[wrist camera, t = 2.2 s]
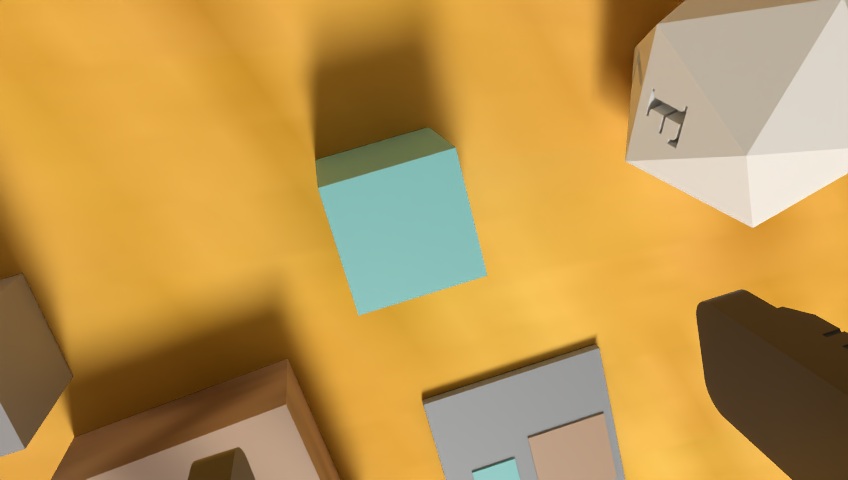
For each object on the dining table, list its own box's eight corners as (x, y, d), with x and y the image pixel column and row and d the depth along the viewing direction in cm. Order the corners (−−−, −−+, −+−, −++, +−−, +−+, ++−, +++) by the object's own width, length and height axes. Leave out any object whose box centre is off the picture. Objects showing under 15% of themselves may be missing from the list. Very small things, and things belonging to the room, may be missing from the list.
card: (595, 344, 30) (600, 349, 30) (630, 521, 34) (635, 528, 33) (421, 400, 30) (424, 406, 29) (474, 575, 33) (477, 583, 33)
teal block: (428, 126, 27) (455, 147, 22) (456, 234, 28) (487, 275, 23) (315, 159, 26) (318, 188, 22) (349, 266, 28) (358, 315, 23)
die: (667, -81, 26) (627, -5, 19) (922, -52, 24) (985, 47, 17) (624, 113, 31) (580, 230, 24) (832, 153, 29) (851, 296, 22)
